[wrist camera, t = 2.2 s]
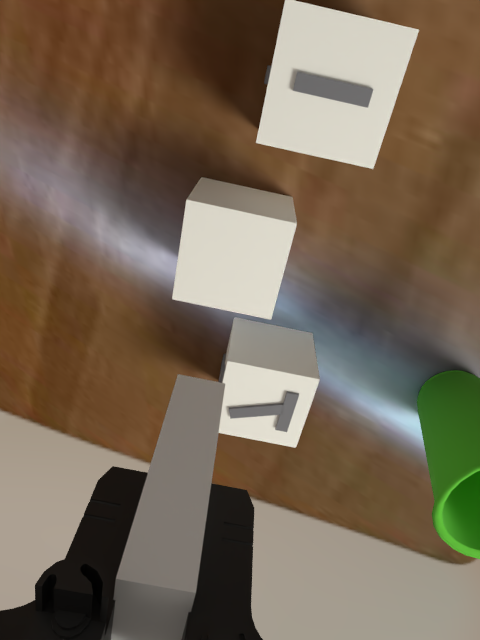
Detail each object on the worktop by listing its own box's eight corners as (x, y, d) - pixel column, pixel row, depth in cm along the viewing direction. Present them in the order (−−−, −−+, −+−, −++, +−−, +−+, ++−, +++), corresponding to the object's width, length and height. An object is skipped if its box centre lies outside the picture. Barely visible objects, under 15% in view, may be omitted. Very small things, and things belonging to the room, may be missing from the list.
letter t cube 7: (231, 315, 34) (224, 362, 29) (312, 332, 34) (320, 381, 29) (217, 379, 37) (208, 432, 32) (292, 394, 37) (295, 449, 32)
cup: (488, 443, 38) (561, 568, 29) (379, 432, 38) (416, 553, 29) (528, 353, 34) (630, 464, 24) (406, 341, 34) (459, 447, 24)
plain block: (201, 176, 29) (186, 199, 24) (292, 196, 30) (296, 223, 24) (188, 262, 32) (171, 299, 27) (271, 279, 33) (271, 319, 27)
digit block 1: (278, 13, 25) (281, -4, 20) (388, 38, 25) (420, 29, 20) (255, 129, 28) (251, 142, 22) (354, 150, 28) (373, 169, 23)
